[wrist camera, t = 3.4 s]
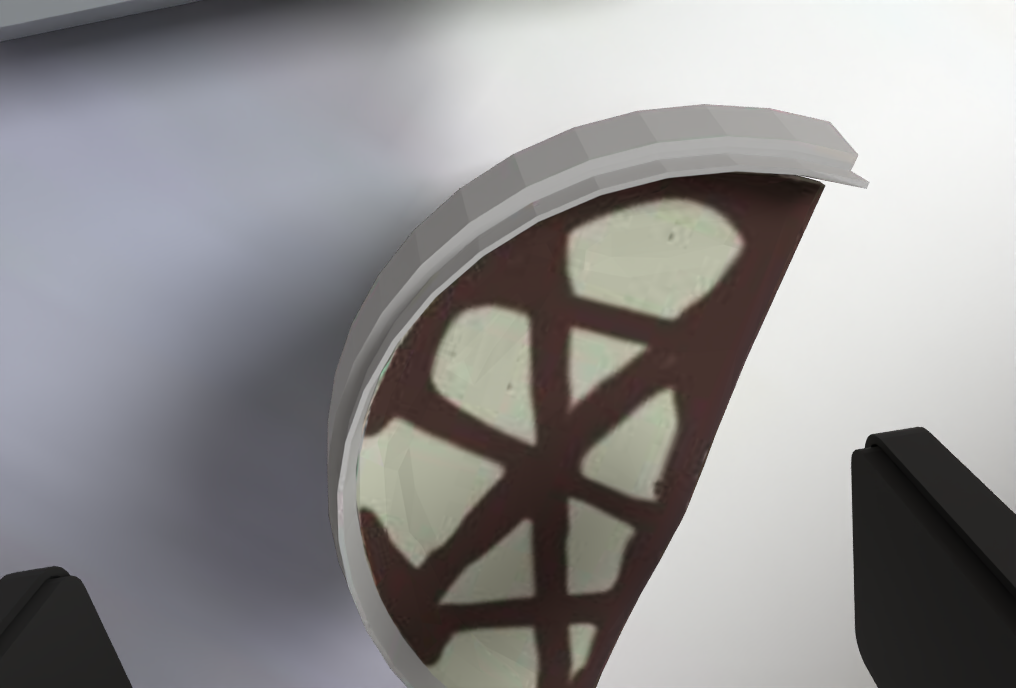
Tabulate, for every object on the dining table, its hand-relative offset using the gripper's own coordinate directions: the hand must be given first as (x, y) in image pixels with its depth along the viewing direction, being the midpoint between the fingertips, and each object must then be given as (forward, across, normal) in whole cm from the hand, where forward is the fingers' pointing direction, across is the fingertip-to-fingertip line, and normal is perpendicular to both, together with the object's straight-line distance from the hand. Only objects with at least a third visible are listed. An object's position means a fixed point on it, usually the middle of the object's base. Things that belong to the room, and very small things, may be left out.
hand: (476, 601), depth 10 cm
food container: (+13, -1, 0) cm, 13 cm away
